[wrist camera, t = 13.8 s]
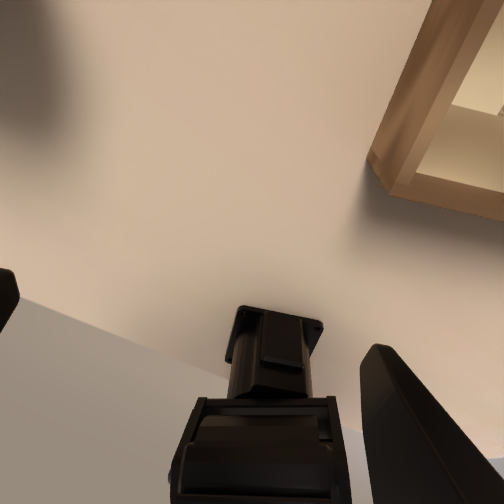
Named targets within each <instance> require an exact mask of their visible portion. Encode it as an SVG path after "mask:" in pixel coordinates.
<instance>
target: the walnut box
mask: <svg viewBox="0 0 504 504" xmlns="http://www.w3.org/2000/svg"><path fill="white" fill-rule="evenodd" d="M503 105H504V0H433V1H432V3H431V5H430V8H429V10H428V13H427V15H426V17H425V20H424V22H423V24H422V27H421V29H420V32H419V34H418V36H417V39H416V41H415V44H414V46H413V48H412V51H411V53H410V55H409V58H408V60H407V63H406V65H405V67H404V70H403V72H402V74H401V77H400V79H399V82H398V84H397V86H396V89H395V91H394V93H393V96H392V98H391V101H390V103H389V105H388V108H387V110H386V113H385V115H384V117H383V120H382V122H381V124H380V127H379V129H378V132H377V134H376V136H375V139H374V141H373V143H372V146H371V148H370V151H369V153H368V155H367V160H368V162H369V163H370V165H371V167H372V169H373V170H374V172H375V174H376V175H377V177H378V179H379V180H380V182H381V184H382V185H383V187H384V189H385V190H386V192H387V194H388V195H390V196H394V197H398V198H403V199H407V200H412V201H416V202H420V203H425V204H429V205H433V206H438V207H442V208H446V209H451V210H455V211H460V212H464V213H468V214H473V215H477V216H481V217H486V218H490V219H494V220H499V221H503V222H504V111H500V110H501V108H502V107H503Z"/></svg>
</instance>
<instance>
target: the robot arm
mask: <svg viewBox="0 0 504 504" xmlns="http://www.w3.org/2000/svg"><path fill="white" fill-rule="evenodd" d="M19 299H20V293H19V289H18V286H17V282H16V279H15V275H14V273H13V272H12V271H11V270H9V269H4V268H0V333H1V331H2V329H3V328H4V326H5V325H6V323H7V321H8V320H9V318H10V316H11V314H12V313H13V311H14V310H15V308H16V306H17V304H18V302H19ZM243 312H246V313H243ZM323 329H324V328H323V323H322V322H321V321H319V320H314V319H309V318H304V317H299V316H294V315H289V314H284V313H280V312H275V311H270V310H265V309H260V308H255V307H250V306H245V305H242V306H239V307H238V309H237V313H236V316H235V320H234V324H233V328H232V332H231V336H230V340H229V344H228V348H227V351H226V355H225V361H226V362H227V363H229V364H232V366H231V373H230V380H229V387H228V394H227V399H208V398H207V397H199V398H198V400H197V402H196V405H195V407H194V409H193V410H192V413H191V415H190V418H189V420H188V423H187V425H186V428H185V430H184V433H183V435H182V438H181V440H180V443H179V445H178V448H177V450H176V453H175V455H174V458H173V460H172V464H171V469H170V471H169V474H168V482H169V484H170V503H171V504H352V498H351V488H350V479H349V472H348V464H347V457H346V451H345V446H344V440H343V435H342V430H341V424H340V418H339V413H338V407H337V402H336V397H335V396H327V398H313V394H312V382H311V369H310V356H311V354H312V352H313V350H314V348H315V346H316V344H317V342H318V340H319V338H320V336H321V334H322V332H323ZM360 389H361V412H362V429H363V437H364V444H365V451H366V457H367V464H368V470H369V477H370V484H371V490H372V497H373V503H374V504H504V479H503V478H502V477H501V476H500V475H499V473H498V472H497V471H496V470H495V469H494V467H493V466H492V465H491V464H490V463H489V462H488V460H487V459H486V458H485V457H484V456H483V454H482V453H481V452H480V451H479V450H478V448H477V447H476V446H475V445H474V444H473V443H472V441H471V440H470V439H469V438H468V437H467V435H466V434H465V433H464V432H463V431H462V430H461V428H460V427H459V426H458V425H457V424H456V422H455V421H454V420H453V419H452V418H451V417H450V415H449V414H448V413H447V412H446V411H445V409H444V408H443V407H442V406H441V405H440V403H439V402H438V401H437V400H436V399H435V398H434V396H433V395H432V394H431V393H430V392H429V390H428V389H427V388H426V387H425V386H424V385H423V383H422V382H421V381H420V380H419V379H418V377H417V376H416V375H415V374H414V373H413V372H412V370H411V369H410V368H409V367H408V366H407V364H406V363H405V362H404V361H403V360H402V359H401V357H400V356H399V355H398V354H397V353H396V351H395V350H394V349H393V348H392V347H390V346H387V345H382V344H374V345H372V347H371V348H370V350H369V351H368V353H367V354H366V356H365V357H364V359H363V360H362V362H361V365H360Z"/></svg>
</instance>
